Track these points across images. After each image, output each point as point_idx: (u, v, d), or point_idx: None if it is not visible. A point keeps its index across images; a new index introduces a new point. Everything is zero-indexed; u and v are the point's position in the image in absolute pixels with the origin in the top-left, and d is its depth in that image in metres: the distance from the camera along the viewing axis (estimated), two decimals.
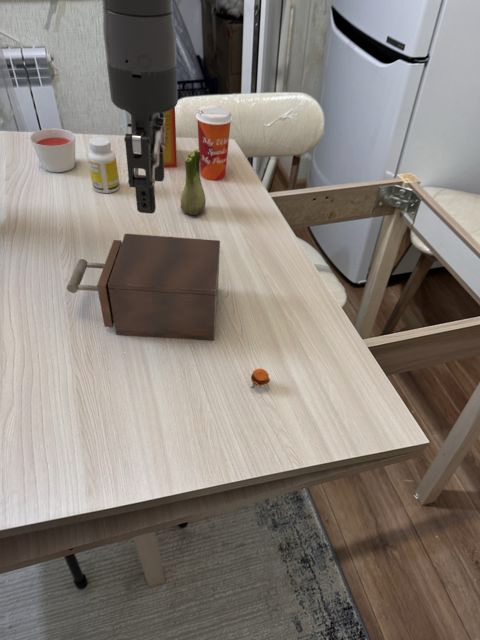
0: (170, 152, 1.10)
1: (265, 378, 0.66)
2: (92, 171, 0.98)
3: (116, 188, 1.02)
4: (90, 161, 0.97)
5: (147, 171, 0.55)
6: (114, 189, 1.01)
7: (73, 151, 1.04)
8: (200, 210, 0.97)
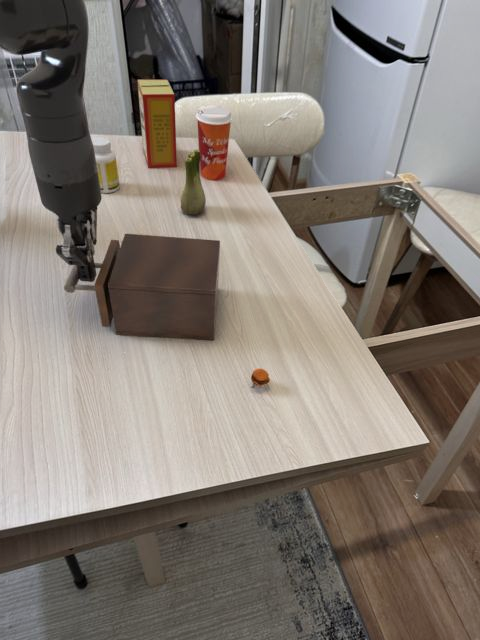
0: (170, 152, 1.10)
1: (265, 378, 0.66)
2: None
3: (116, 188, 1.02)
4: None
5: (81, 262, 0.66)
6: (114, 189, 1.01)
7: None
8: (200, 210, 0.97)
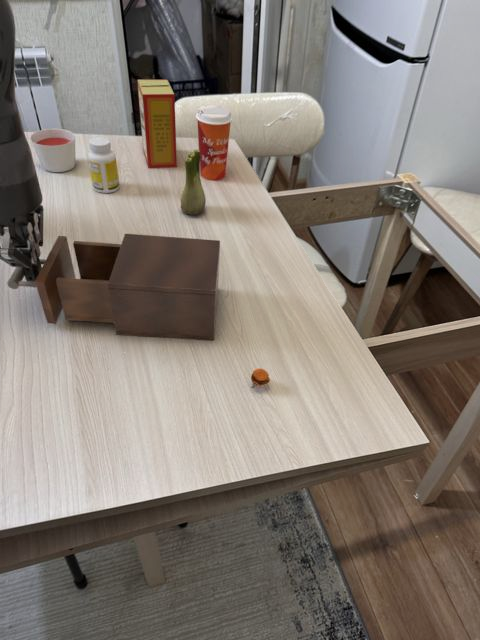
0: (170, 152, 1.10)
1: (265, 378, 0.66)
2: (92, 171, 0.98)
3: (116, 188, 1.02)
4: (90, 161, 0.97)
5: (23, 264, 0.66)
6: (114, 189, 1.01)
7: (73, 151, 1.04)
8: (200, 210, 0.97)
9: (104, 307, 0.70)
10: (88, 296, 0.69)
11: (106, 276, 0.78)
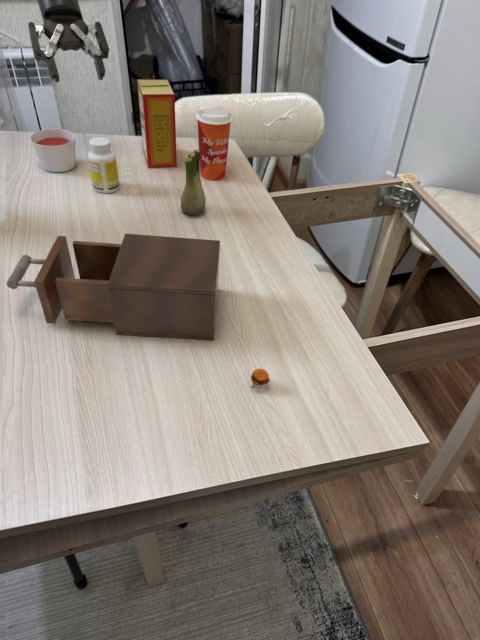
0: (170, 152, 1.10)
1: (265, 378, 0.66)
2: (92, 171, 0.98)
3: (116, 188, 1.02)
4: (90, 161, 0.97)
5: (32, 42, 0.92)
6: (114, 189, 1.01)
7: (73, 151, 1.04)
8: (200, 210, 0.97)
9: (104, 307, 0.70)
10: (88, 296, 0.69)
11: (105, 276, 0.78)
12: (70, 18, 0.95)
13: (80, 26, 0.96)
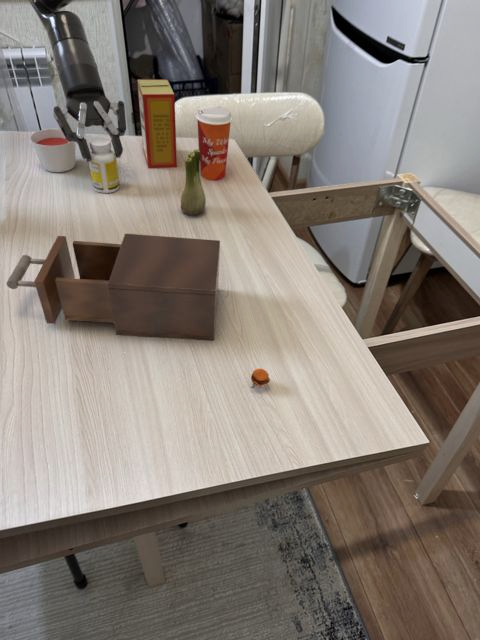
0: (170, 152, 1.10)
1: (265, 377, 0.66)
2: (92, 171, 0.98)
3: (116, 188, 1.02)
4: (90, 161, 0.97)
5: (62, 126, 0.93)
6: (114, 189, 1.01)
7: (73, 151, 1.04)
8: (200, 210, 0.97)
9: (104, 307, 0.70)
10: (88, 296, 0.69)
11: (105, 276, 0.78)
12: (92, 95, 0.95)
13: (102, 102, 0.96)
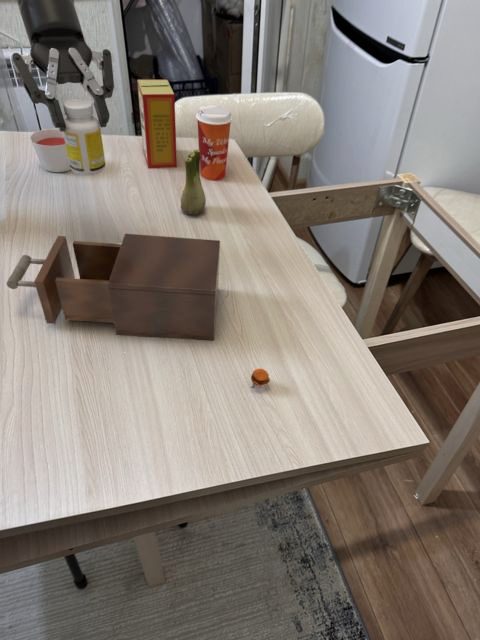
0: (170, 152, 1.10)
1: (265, 378, 0.66)
2: (68, 145, 0.72)
3: (102, 170, 0.76)
4: (65, 131, 0.71)
5: (24, 81, 0.67)
6: (98, 170, 0.75)
7: None
8: (200, 210, 0.97)
9: (104, 307, 0.70)
10: (88, 296, 0.69)
11: (105, 276, 0.78)
12: (67, 40, 0.69)
13: (81, 50, 0.70)
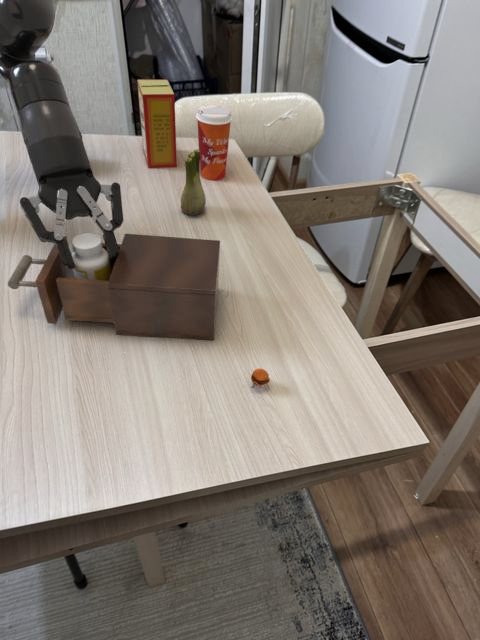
0: (170, 152, 1.10)
1: (265, 377, 0.66)
2: None
3: None
4: None
5: (33, 225, 0.65)
6: None
7: None
8: (200, 210, 0.97)
9: (104, 307, 0.70)
10: (89, 296, 0.69)
11: None
12: (76, 177, 0.68)
13: (90, 186, 0.68)
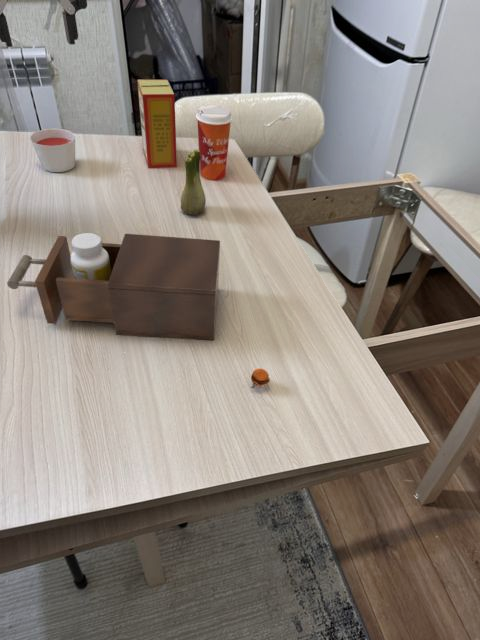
0: (170, 152, 1.10)
1: (265, 378, 0.66)
2: None
3: None
4: (74, 267, 0.69)
5: None
6: None
7: (73, 151, 1.04)
8: (200, 210, 0.97)
9: (104, 307, 0.70)
10: (88, 296, 0.69)
11: None
12: None
13: None
